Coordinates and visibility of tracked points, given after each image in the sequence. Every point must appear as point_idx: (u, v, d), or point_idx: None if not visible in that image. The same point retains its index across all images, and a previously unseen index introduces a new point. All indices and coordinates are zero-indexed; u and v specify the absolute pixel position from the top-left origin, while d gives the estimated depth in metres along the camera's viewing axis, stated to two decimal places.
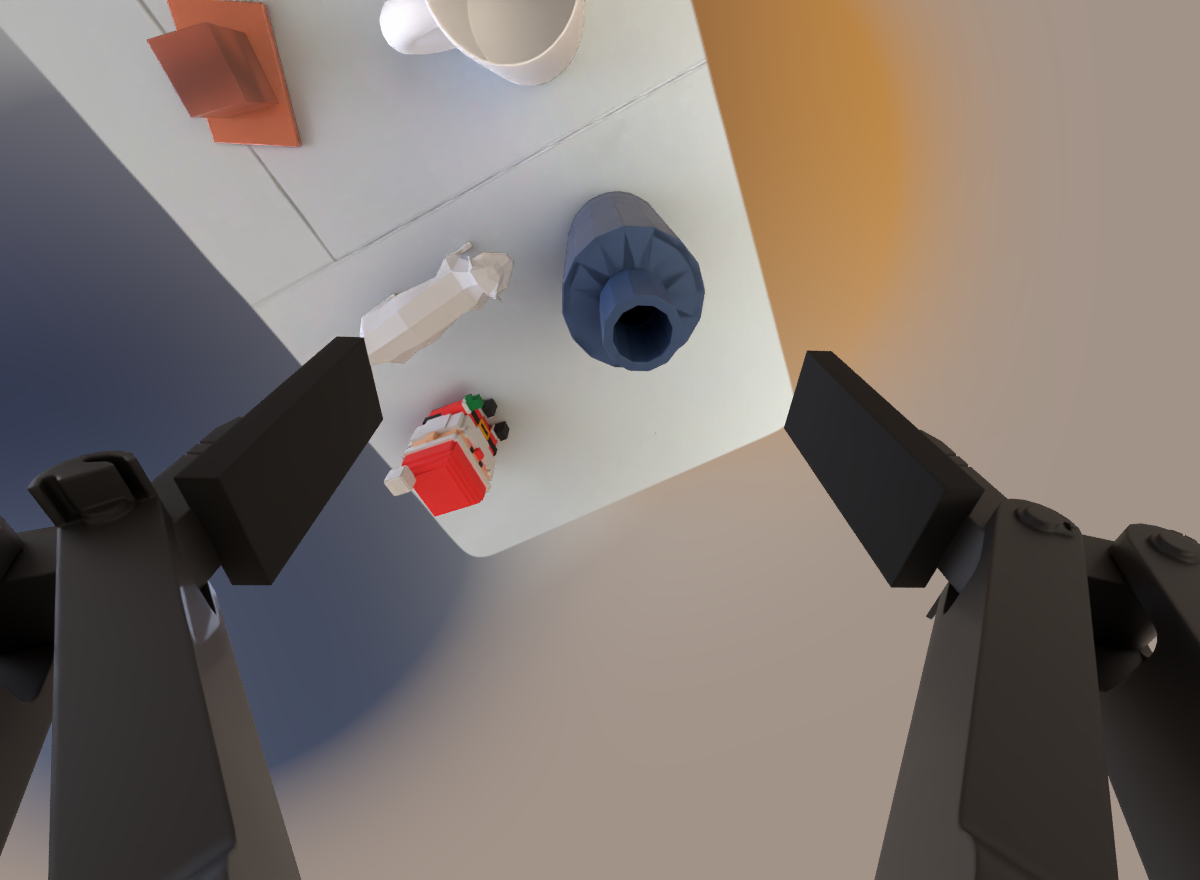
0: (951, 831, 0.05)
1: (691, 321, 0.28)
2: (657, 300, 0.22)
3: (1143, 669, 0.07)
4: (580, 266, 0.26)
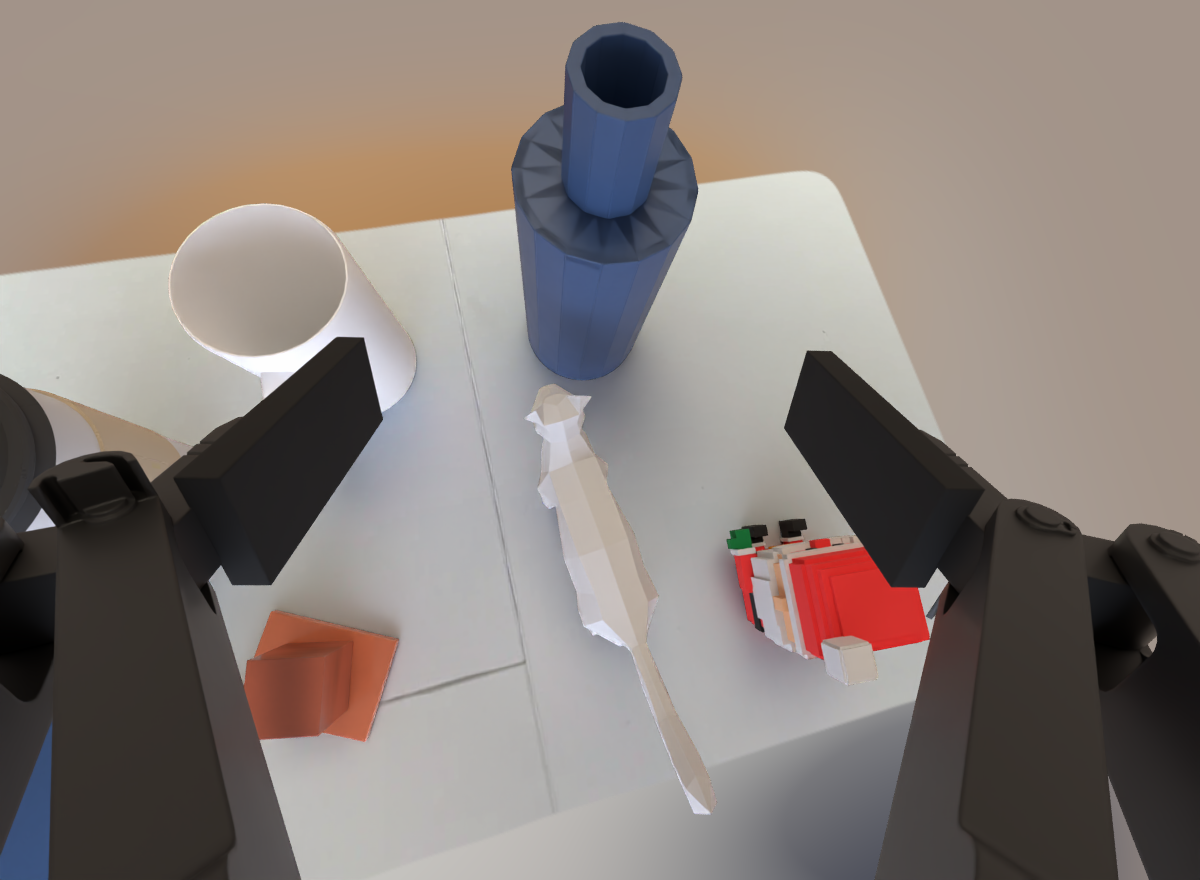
0: (952, 832, 0.05)
1: None
2: (579, 41, 0.16)
3: (1144, 669, 0.07)
4: (546, 226, 0.20)
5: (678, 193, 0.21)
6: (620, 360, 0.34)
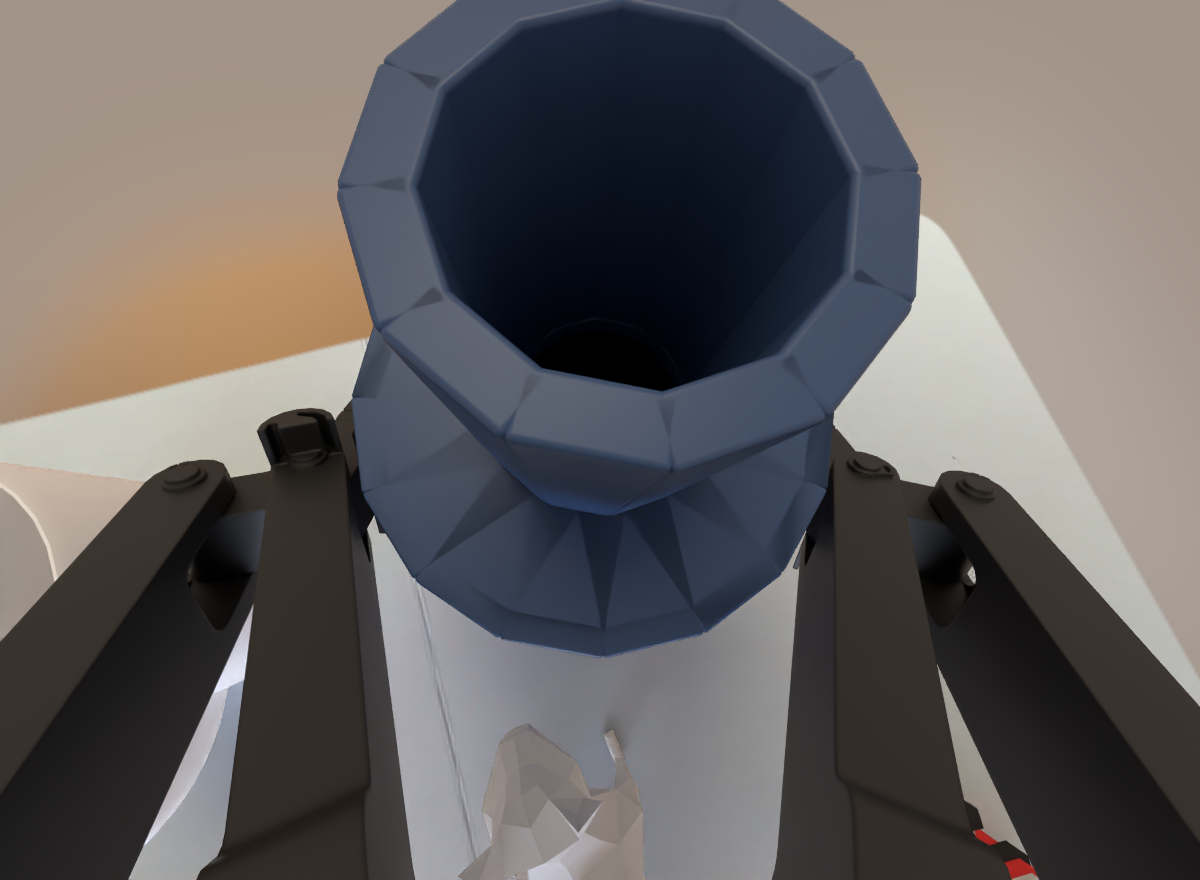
0: (831, 783, 0.05)
1: None
2: (410, 61, 0.03)
3: (969, 604, 0.08)
4: (444, 560, 0.07)
5: None
6: None
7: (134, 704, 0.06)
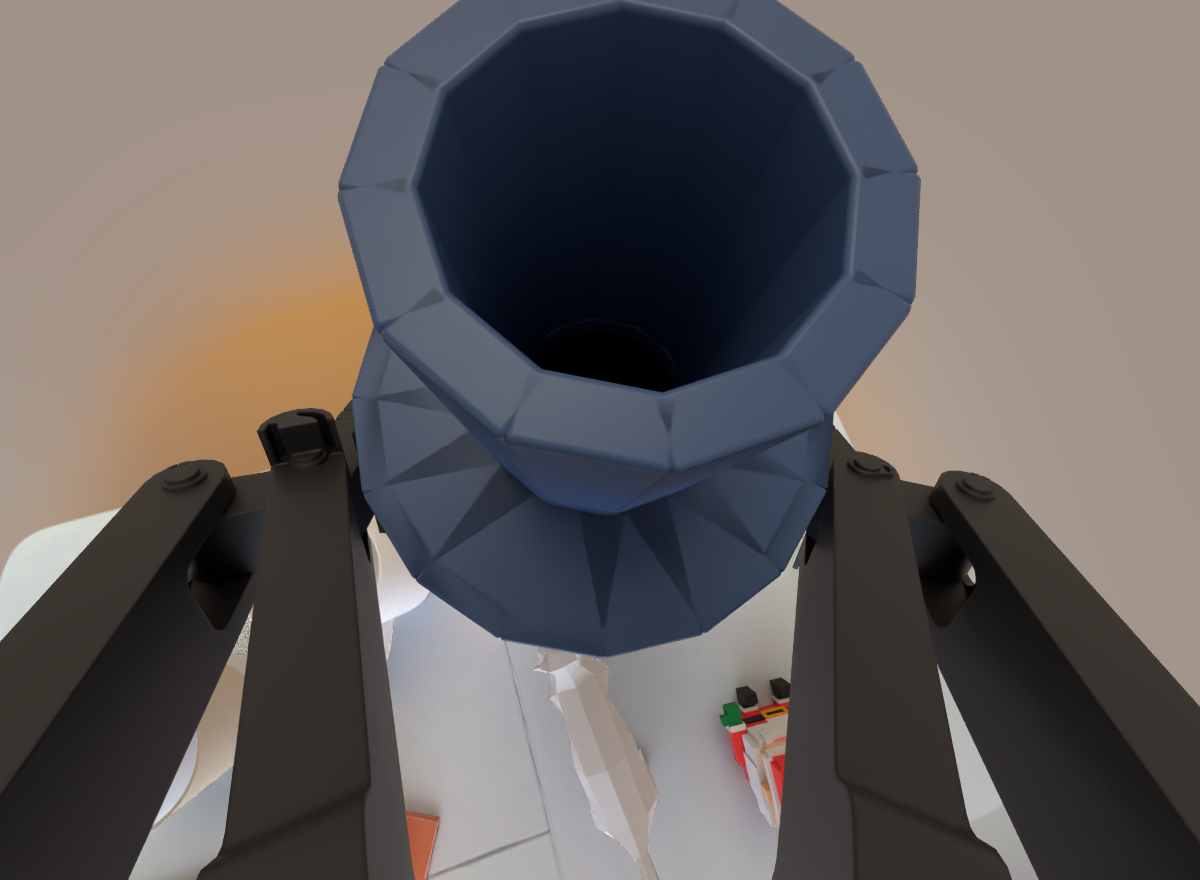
0: (831, 782, 0.05)
1: None
2: (410, 62, 0.03)
3: (969, 604, 0.08)
4: (444, 561, 0.07)
5: None
6: None
7: (134, 704, 0.06)
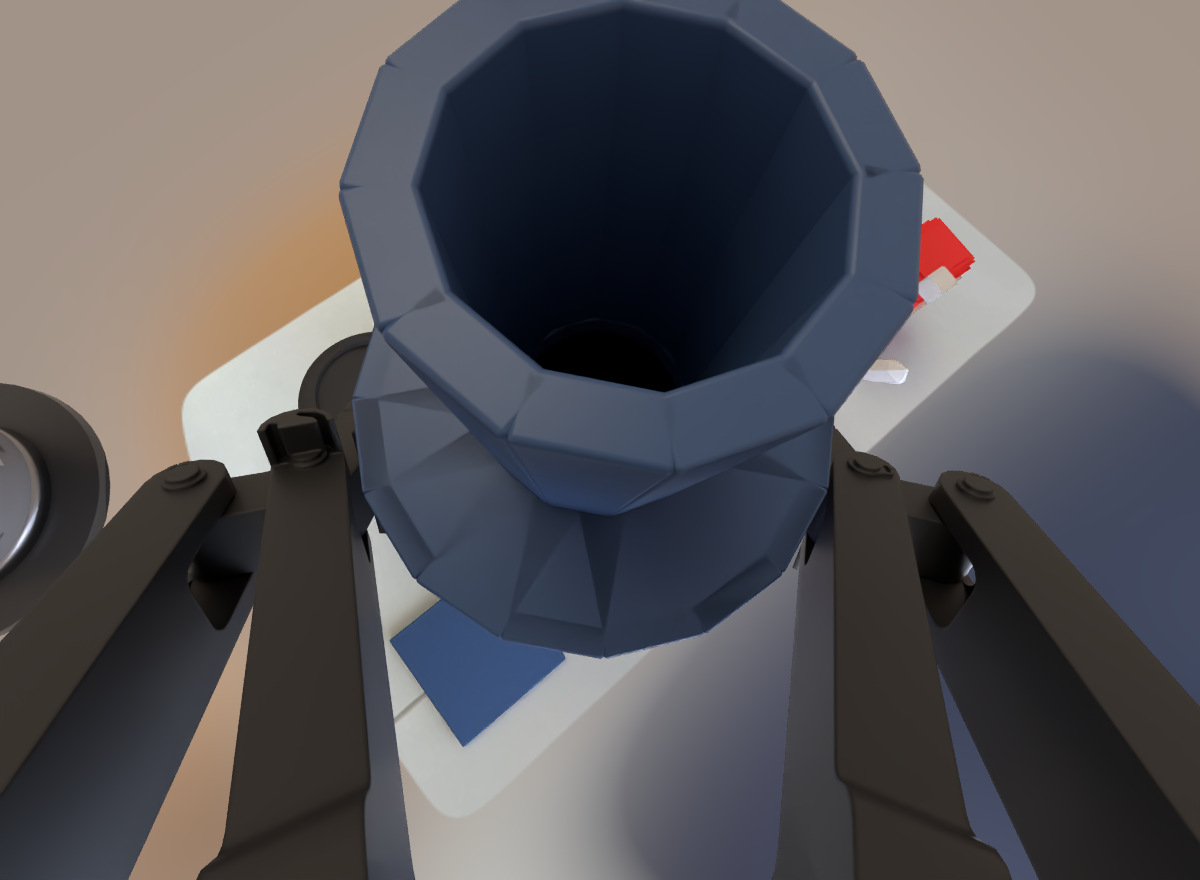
0: (831, 783, 0.05)
1: None
2: (411, 62, 0.03)
3: (969, 604, 0.08)
4: (444, 561, 0.07)
5: None
6: None
7: (134, 704, 0.06)
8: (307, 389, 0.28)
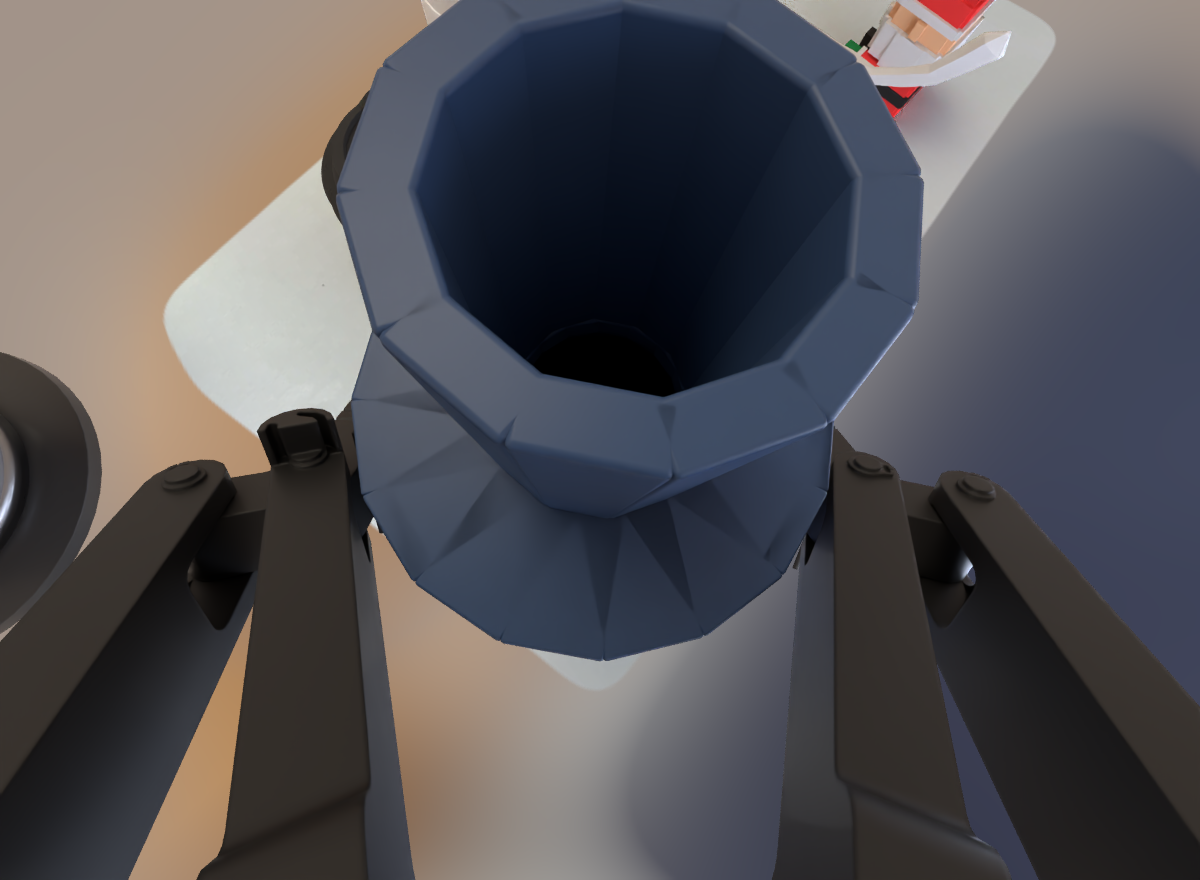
0: (831, 782, 0.05)
1: None
2: (409, 64, 0.03)
3: (969, 604, 0.08)
4: (443, 563, 0.07)
5: None
6: None
7: (134, 704, 0.06)
8: (334, 156, 0.22)
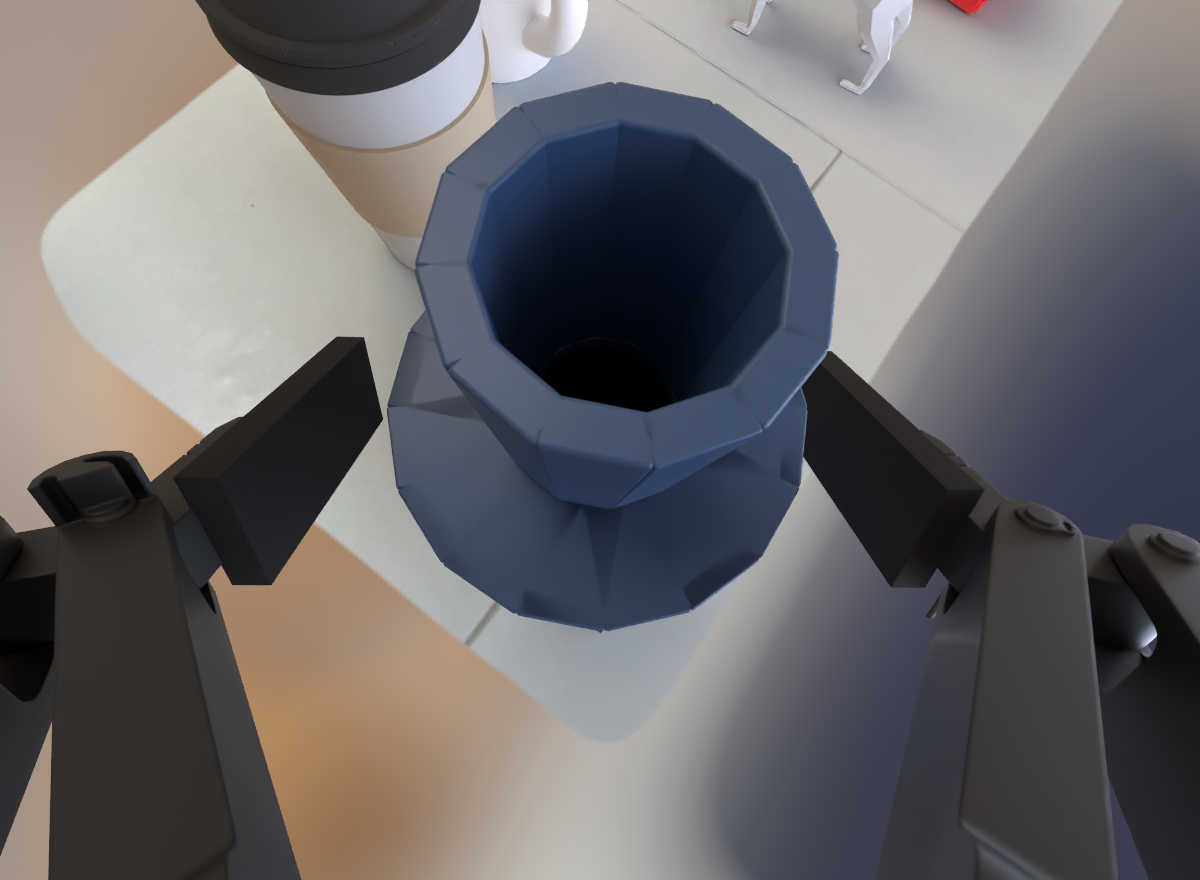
0: (951, 830, 0.05)
1: None
2: (464, 170, 0.04)
3: (1143, 669, 0.07)
4: (467, 547, 0.09)
5: None
6: None
7: None
8: None
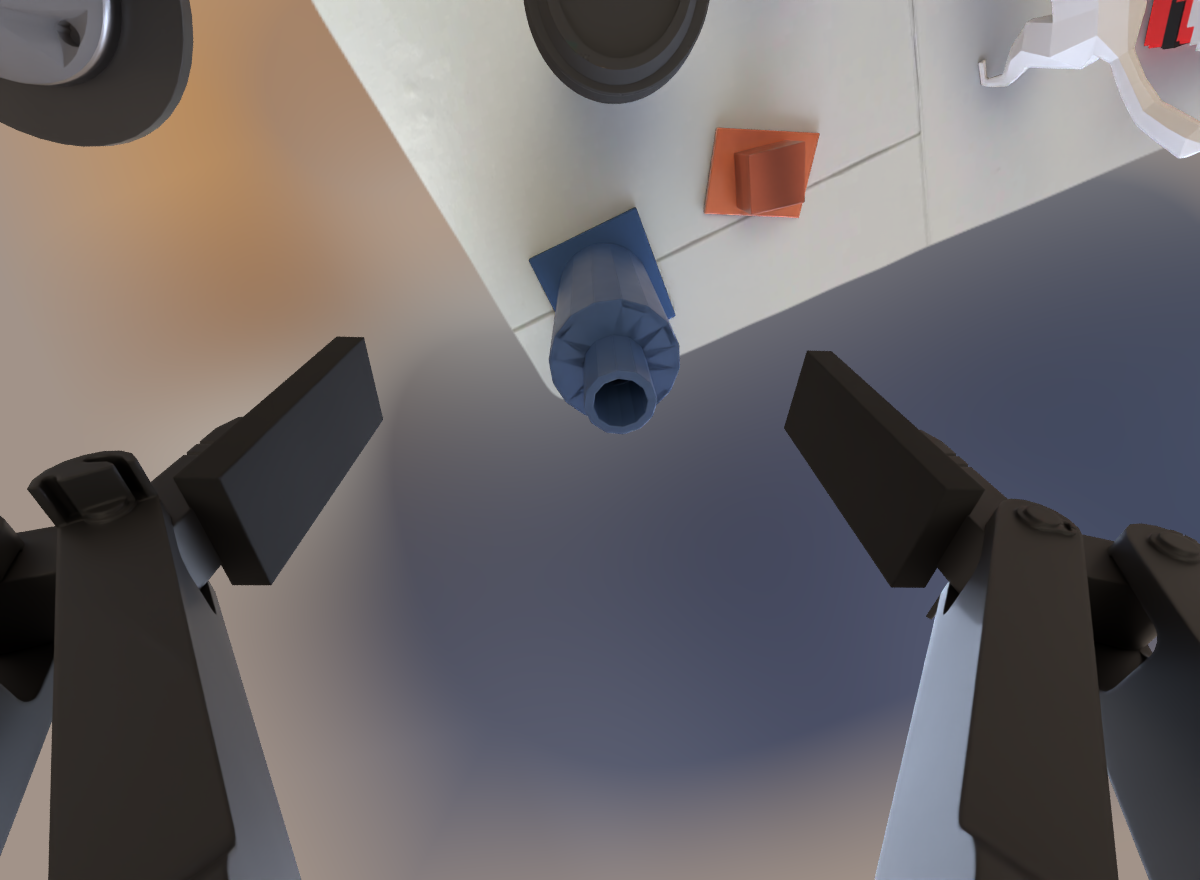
0: (951, 831, 0.05)
1: (664, 330, 0.29)
2: (601, 379, 0.25)
3: (1143, 669, 0.07)
4: (561, 382, 0.30)
5: (656, 388, 0.31)
6: None
7: None
8: None
